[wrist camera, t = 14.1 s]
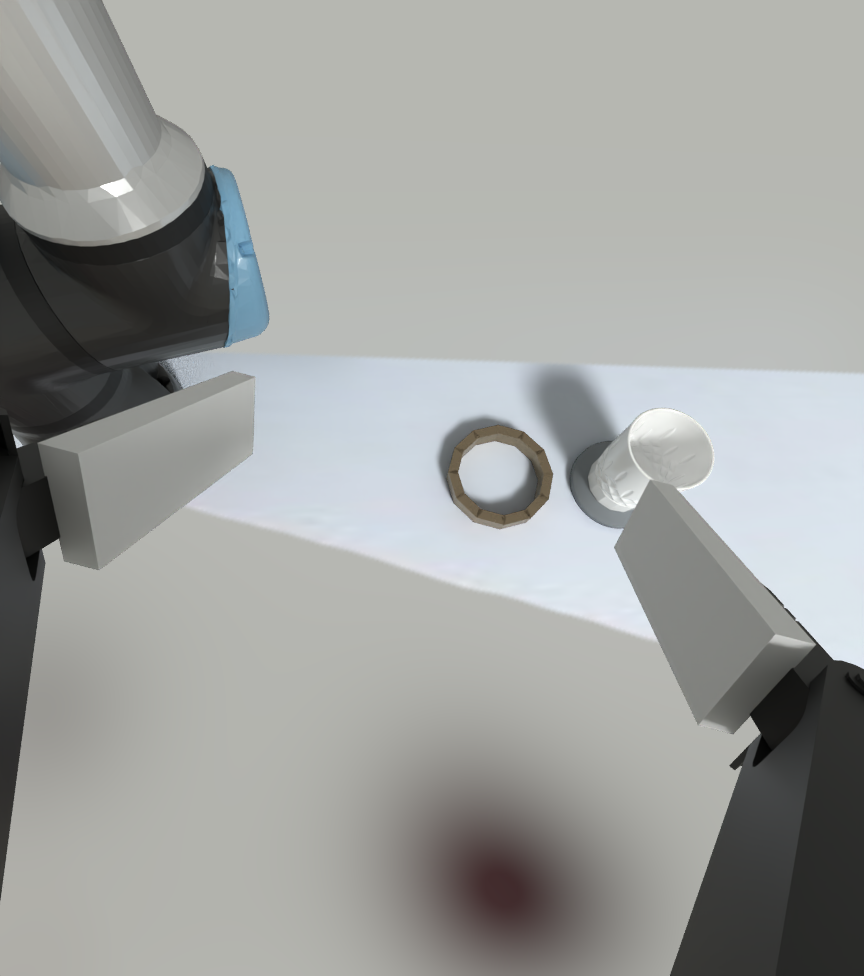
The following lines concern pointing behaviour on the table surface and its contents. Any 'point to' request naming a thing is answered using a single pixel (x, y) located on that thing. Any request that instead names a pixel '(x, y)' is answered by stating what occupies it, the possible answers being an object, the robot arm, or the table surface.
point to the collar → (527, 448)
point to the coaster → (585, 495)
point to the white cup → (651, 458)
